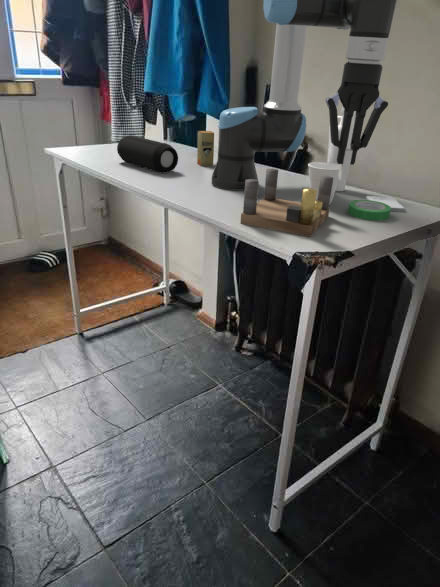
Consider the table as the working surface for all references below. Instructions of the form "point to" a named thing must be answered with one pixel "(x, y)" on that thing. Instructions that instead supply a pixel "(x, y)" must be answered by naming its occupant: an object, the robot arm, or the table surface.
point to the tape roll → (369, 210)
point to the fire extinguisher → (334, 150)
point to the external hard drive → (388, 202)
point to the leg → (309, 206)
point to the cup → (323, 170)
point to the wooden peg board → (281, 207)
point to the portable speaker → (148, 154)
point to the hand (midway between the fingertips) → (342, 178)
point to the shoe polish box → (205, 148)
